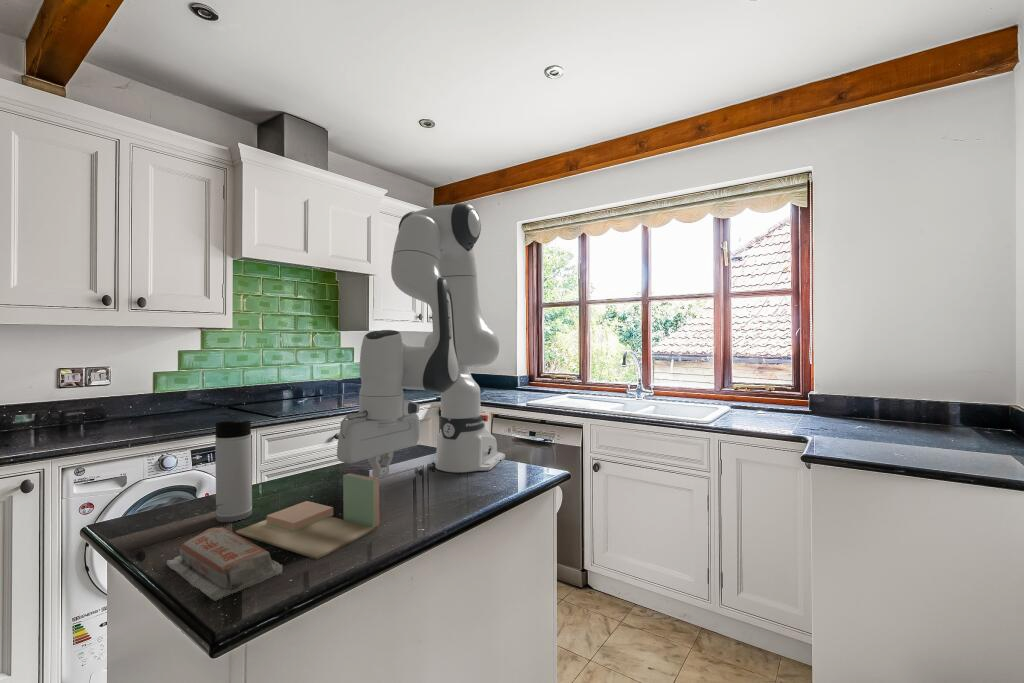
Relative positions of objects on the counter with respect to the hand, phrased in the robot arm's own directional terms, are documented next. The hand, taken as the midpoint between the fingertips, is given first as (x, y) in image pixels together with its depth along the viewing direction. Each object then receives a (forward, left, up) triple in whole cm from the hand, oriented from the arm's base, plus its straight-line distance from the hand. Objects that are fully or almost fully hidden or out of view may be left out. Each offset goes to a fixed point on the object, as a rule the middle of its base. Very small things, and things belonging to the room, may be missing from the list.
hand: (380, 475), depth 96 cm
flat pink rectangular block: (+6, -11, -7) cm, 14 cm away
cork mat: (+13, -6, -8) cm, 17 cm away
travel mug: (+15, -25, -8) cm, 30 cm away
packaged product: (+29, -5, -9) cm, 30 cm away
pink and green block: (+5, 0, -8) cm, 10 cm away
